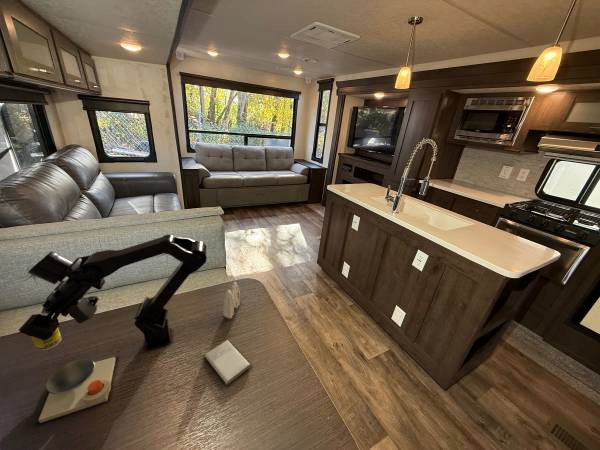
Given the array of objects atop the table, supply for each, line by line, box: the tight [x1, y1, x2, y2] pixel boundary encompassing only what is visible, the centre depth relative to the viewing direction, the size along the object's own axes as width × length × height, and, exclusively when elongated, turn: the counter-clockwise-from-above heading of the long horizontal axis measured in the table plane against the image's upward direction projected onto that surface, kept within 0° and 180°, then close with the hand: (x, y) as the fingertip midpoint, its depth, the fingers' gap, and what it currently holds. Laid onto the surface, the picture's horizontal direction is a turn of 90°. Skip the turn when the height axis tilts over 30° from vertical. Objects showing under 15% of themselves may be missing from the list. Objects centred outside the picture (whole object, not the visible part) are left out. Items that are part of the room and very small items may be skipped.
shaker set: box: [222, 281, 241, 319], centre depth 95 cm, size 12×4×11 cm, turn 174°
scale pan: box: [46, 358, 95, 394], centre depth 66 cm, size 10×10×1 cm
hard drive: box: [204, 339, 251, 386], centre depth 77 cm, size 2×8×12 cm
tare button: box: [87, 380, 103, 395], centre depth 63 cm, size 3×3×2 cm
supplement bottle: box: [30, 312, 62, 352], centre depth 69 cm, size 5×5×10 cm
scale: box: [38, 356, 116, 424], centre depth 66 cm, size 14×14×3 cm
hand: (35, 327), depth 68 cm, fingers closed on supplement bottle, 5 cm apart
